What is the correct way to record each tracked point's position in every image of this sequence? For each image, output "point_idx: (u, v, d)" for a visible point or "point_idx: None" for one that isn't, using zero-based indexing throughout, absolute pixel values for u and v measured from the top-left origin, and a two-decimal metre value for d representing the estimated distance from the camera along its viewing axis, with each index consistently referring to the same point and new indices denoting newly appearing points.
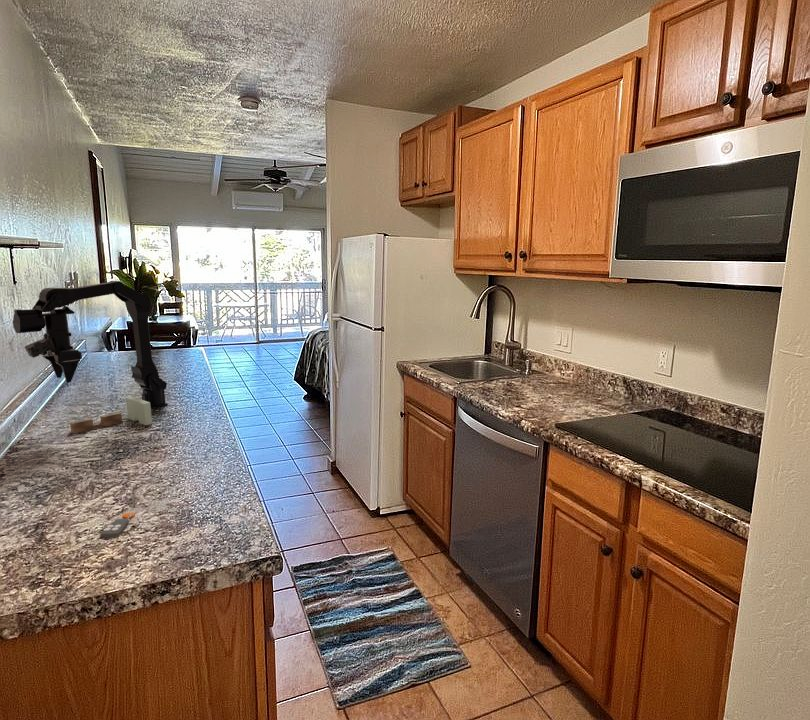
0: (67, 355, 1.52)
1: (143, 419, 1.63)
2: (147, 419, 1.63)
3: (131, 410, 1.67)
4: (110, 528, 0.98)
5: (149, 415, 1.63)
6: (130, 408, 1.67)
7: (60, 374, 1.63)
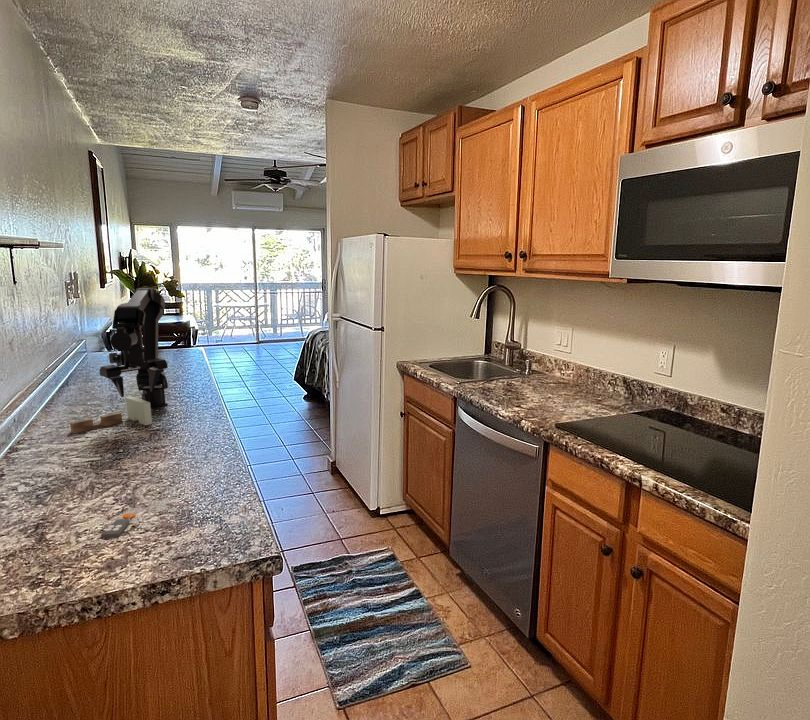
0: (101, 370, 1.57)
1: (143, 419, 1.63)
2: (147, 419, 1.63)
3: (131, 410, 1.67)
4: (111, 528, 0.98)
5: (149, 415, 1.63)
6: (130, 408, 1.67)
7: (151, 388, 1.68)
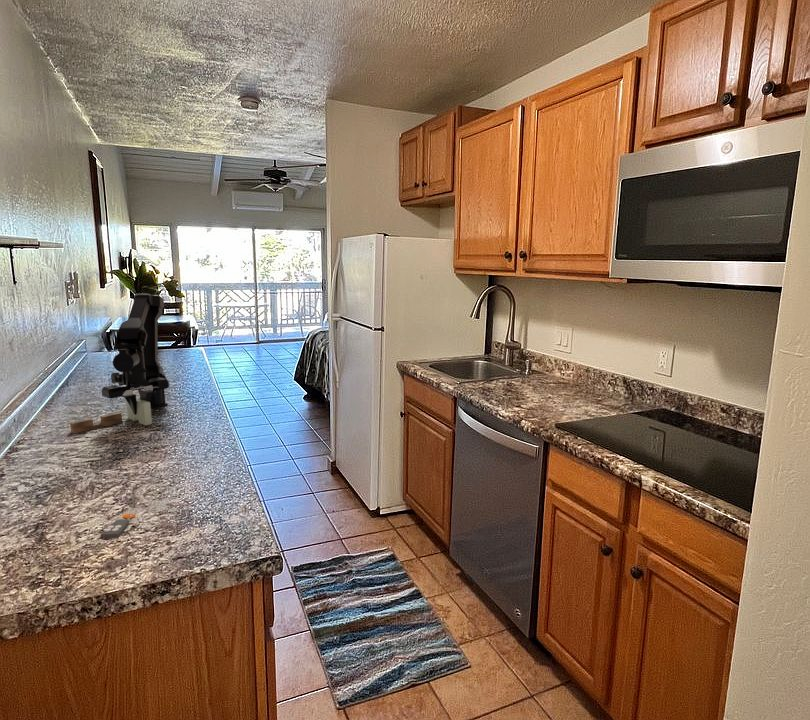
0: (103, 391, 1.58)
1: (143, 419, 1.63)
2: (147, 419, 1.63)
3: (131, 410, 1.67)
4: (110, 529, 0.98)
5: (149, 415, 1.63)
6: (130, 408, 1.67)
7: None
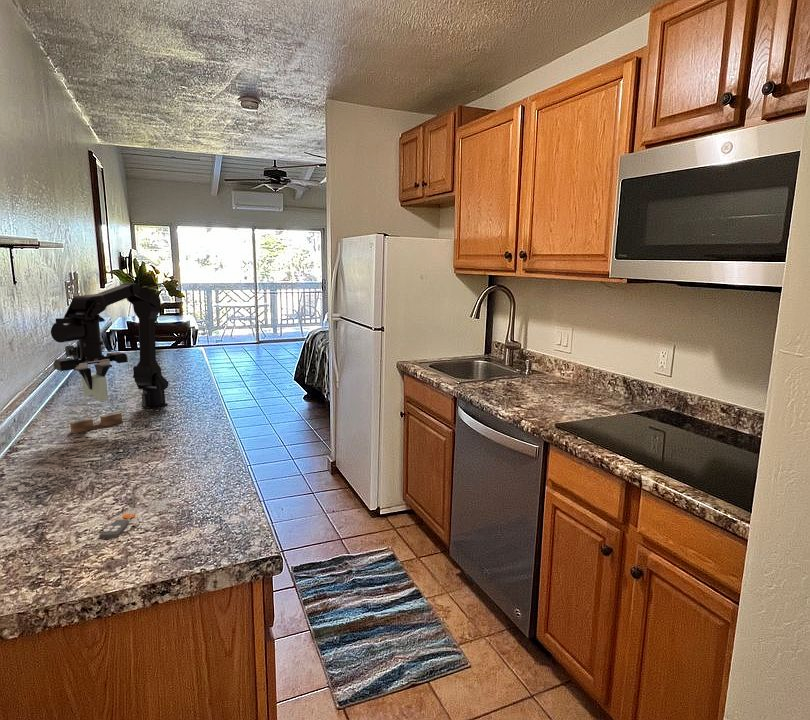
0: (55, 363, 1.50)
1: (98, 395, 1.55)
2: (103, 395, 1.55)
3: (87, 386, 1.59)
4: (110, 529, 0.98)
5: (105, 390, 1.55)
6: (86, 384, 1.59)
7: None
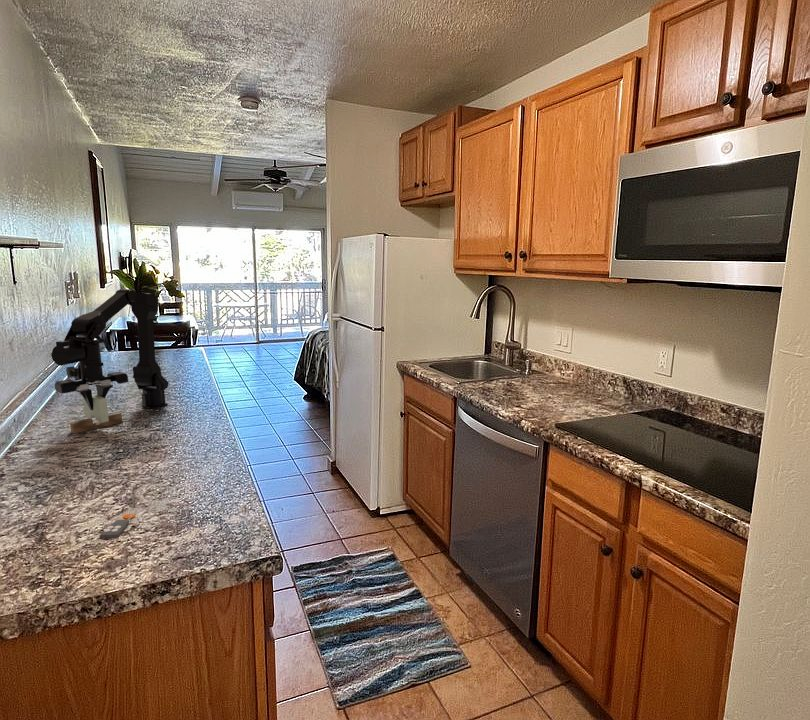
0: (56, 385, 1.51)
1: (99, 416, 1.56)
2: (103, 416, 1.56)
3: (88, 407, 1.60)
4: (110, 529, 0.98)
5: (106, 412, 1.56)
6: (87, 405, 1.61)
7: None
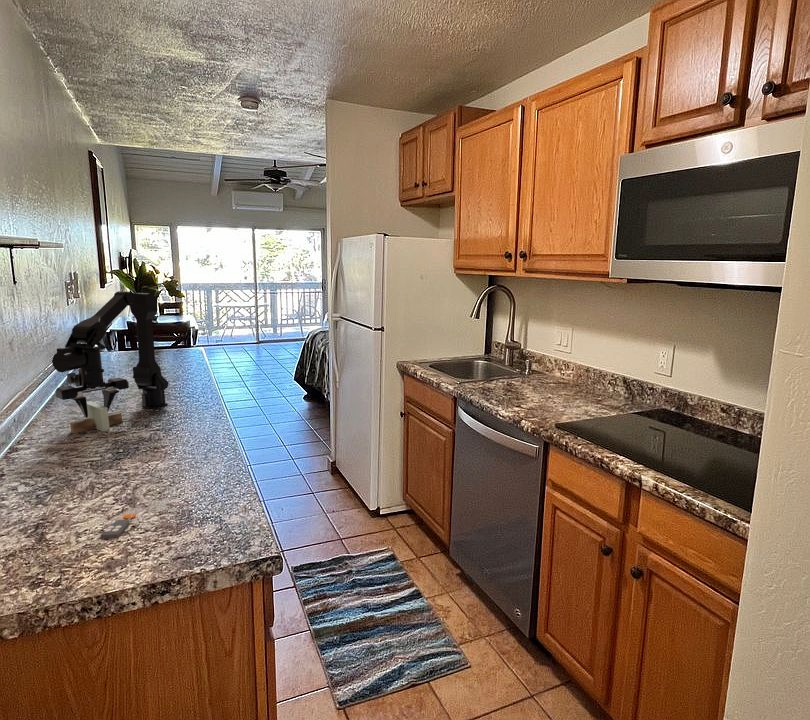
0: (57, 392, 1.51)
1: (100, 425, 1.57)
2: (104, 425, 1.57)
3: (89, 416, 1.61)
4: (111, 529, 0.98)
5: (107, 420, 1.57)
6: (88, 413, 1.61)
7: None
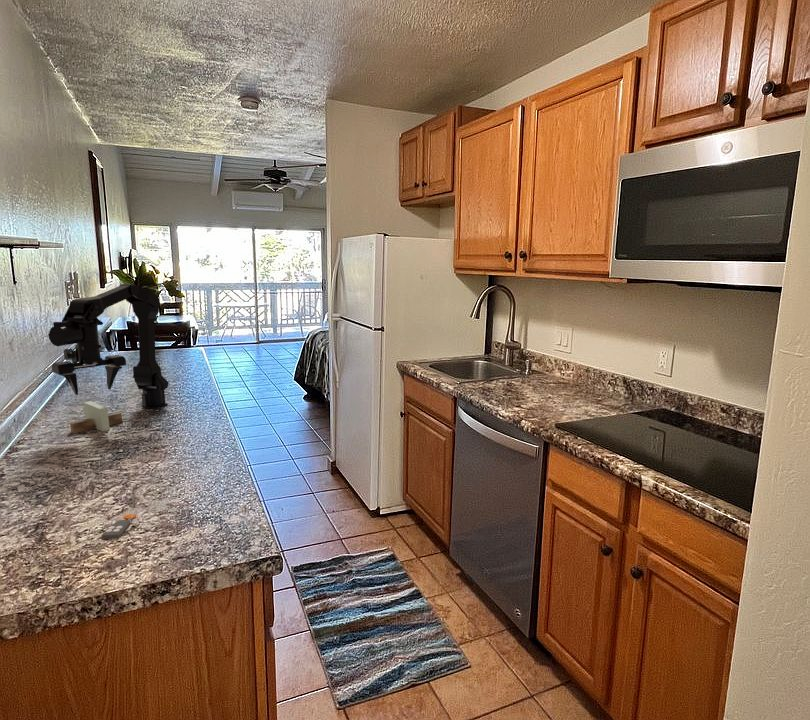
0: (53, 367, 1.50)
1: (100, 425, 1.57)
2: (104, 425, 1.57)
3: (89, 416, 1.61)
4: (111, 529, 0.98)
5: (107, 420, 1.57)
6: (88, 413, 1.61)
7: (108, 386, 1.61)
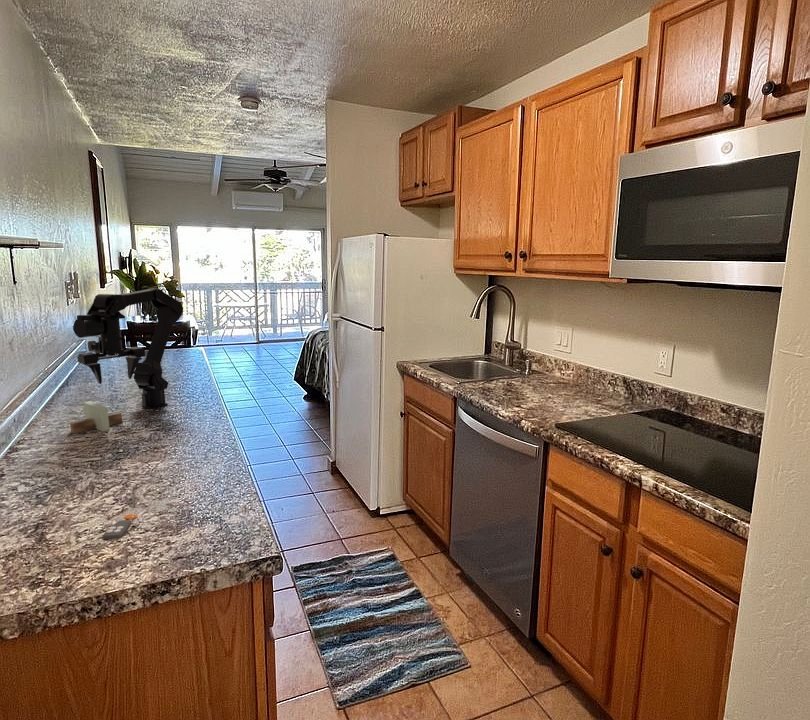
0: (79, 357, 1.60)
1: (100, 425, 1.57)
2: (104, 425, 1.57)
3: (89, 416, 1.61)
4: (112, 530, 0.98)
5: (107, 420, 1.57)
6: (88, 413, 1.61)
7: (129, 376, 1.72)
